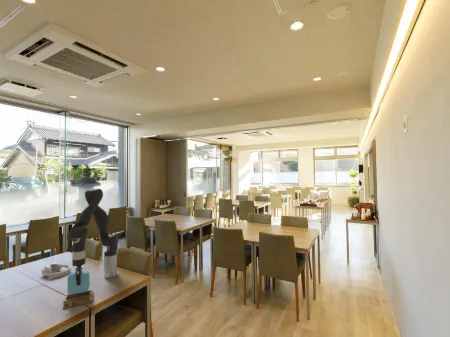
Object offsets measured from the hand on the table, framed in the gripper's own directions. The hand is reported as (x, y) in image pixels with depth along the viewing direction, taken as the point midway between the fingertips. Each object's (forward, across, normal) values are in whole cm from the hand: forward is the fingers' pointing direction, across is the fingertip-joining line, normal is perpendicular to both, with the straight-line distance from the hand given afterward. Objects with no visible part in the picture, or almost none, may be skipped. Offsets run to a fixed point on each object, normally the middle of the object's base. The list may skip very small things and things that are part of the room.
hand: (79, 283), depth 157 cm
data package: (+6, 0, 0) cm, 6 cm away
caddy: (+11, 0, 0) cm, 11 cm away
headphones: (+12, +57, +22) cm, 62 cm away
